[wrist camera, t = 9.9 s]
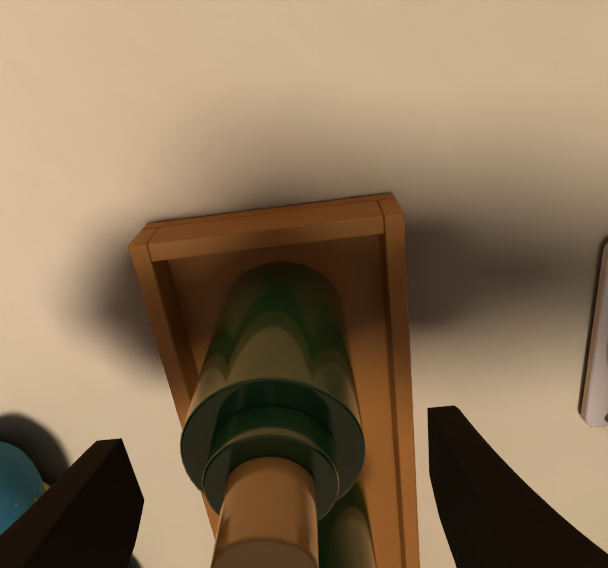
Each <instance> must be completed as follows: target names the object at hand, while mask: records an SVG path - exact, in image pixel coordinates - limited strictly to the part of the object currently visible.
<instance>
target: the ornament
mask: <svg viewBox="0 0 608 568" xmlns="http://www.w3.org/2000/svg"><path fill="white" fill-rule="evenodd" d="M50 487H51V485H49V484H47V483H45V482H43V481H42V479H41V477H40V475H39V472H38V470H37V468H36V467H35V465H34V464H33V462H32V461H31V459H30V458H29V457H28V456H27V455H26V454H25V453H24V452H23V451H22V450H20V449H19V448H17V447H15V446H13V445H11V444H9V443H5V442H0V535H1V534H2V533H3V532H4V531H5V530H6V529H8V528H9V527H10V526H11V525H12V524H13V523H14V522H15V521H16V520H17V519H18V518H19V517H20V516H22V515H23V514H24V513H25V512H26V511H27V510H28V509H29V508H30V507H31V506H32V505H33V504H34V503H35V502H36V501H37V500H38V499H39V498H40V497H41V496H42V495H43V494H44V493H45V492H46V491H47V490H48V489H49V488H50Z"/></svg>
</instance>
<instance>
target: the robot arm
mask: <svg viewBox="0 0 608 568" xmlns="http://www.w3.org/2000/svg"><path fill="white" fill-rule="evenodd" d="M606 414H608V242H607V244H606V245H605V247H604V250H603V256H602V263H601V270H600V278H599V285H598V292H597V300H596V307H595V314H594V322H593V329H592V336H591V344H590V351H589V358H588V366H587V373H586V380H585V388H584V395H583V402H582V409H581V417H582V419H583V420H584V421H585V423H586V424H587V425H588V426H590V427H604V426H608V415H606ZM428 442H429V474H430V479H431V483H432V488H433V492H434V497H435V501H436V505H437V509H438V513H439V518H440V520H441V523H442V526H443V529H444V532H445V535H446V538H447V541H448V544H449V547H450V550H451V552H452V555H453V558H454V561H455V564H456V567H457V568H608V554H607V553H606V552H605V551H603V550H602V549H601V548H599V547H598V546H597V545H596V544H594V543H593V542H592V541H591V540H589V539H588V538H587V537H586V536H584V535H583V534H582V533H581V532H580V531H578V530H577V529H576V528H575V527H573V526H572V525H571V524H570V523H569V522H568V521H566V520H565V519H564V518H563V517H562V516H561V515H559V514H558V513H557V512H556V511H555V510H554V509H553V508H552V507H551V506H549V505H548V504H547V503H546V502H545V501H544V500H543V499H542V498H541V497H540V496H539V495H538V494H537V493H535V492H534V491H533V490H532V489H531V488H530V487H529V486H528V485H527V484H526V483H525V482H524V481H523V480H522V479H521V478H520V477H519V476H518V475H517V474H516V473H515V472H514V471H513V470H512V469H511V468H510V467H509V466H508V465H507V464H506V462H505V461H504V460H503V459H502V458H501V457H500V456H499V455H498V454H497V453H496V452H495V451H494V450H493V449H492V448H491V446H490V445H489V444H488V443H487V442H486V441H485V440H484V439H483V437H482V436H481V435H480V434H479V433H478V432H477V430H476V429H475V428H474V427H473V426H472V424H471V423H470V422H469V421H468V420H467V418H466V417H465V416H464V415H463V413H462V412H461V411H460V410H459V409H458V408H457V407H456V406H444V407H434V408H428ZM143 504H144V498H143V495H142V492H141V490H140V487H139V484H138V482H137V479H136V476H135V473H134V471H133V468H132V465H131V463H130V460H129V457H128V454H127V452H126V449H125V446H124V444H123V441H122V438H120V439H110V440H100V441H96V442H95V443H94V444H93V445H92V446H91V447H90V448H89V449H88V450H87V451H86V452H85V453H84V454H83V455H82V456H81V457H80V458H79V459H78V460H77V461H76V462H75V463H74V464H73V465H72V466H71V467H70V468H69V469H68V470H67V471H66V472H65V473H64V474H63V475H62V476H61V477H60V478H59V479H58V480H57V481H56V482H55V483H54V484H53V485H52V486H51V487H50V488H49V489H48V490H47V491H46V492H45V493H44V494H43V495H42V496H41V497H40V498H39V499H38V500H37V501H36V502H35V503H34V504H33V505H32V506H31V507H30V508H29V509H28V510H27V511H26V512H25V513H24V514H23V515H22V516H20V517H19V518H18V519H17V520H16V521H15V522H14V523H13V524H12V525H11V526H10V527H9V528H8V529H6V530H5V531H4V532H3V533H2V534H1V535H0V568H127V567H128V564H129V561H130V558H131V555H132V552H133V549H134V546H135V542H136V538H137V533H138V529H139V525H140V520H141V515H142V510H143Z"/></svg>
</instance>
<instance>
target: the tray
mask: <svg viewBox="0 0 608 568" xmlns="http://www.w3.org/2000/svg"><path fill="white" fill-rule="evenodd" d="M128 249H129V252H130V256H131V259H132V262H133V266H134V269H135V272H136V276H137V279H138V282H139V286H140V289H141V292H142V296H143V299H144V302H145V306H146V309H147V313H148V316H149V319H150V323H151V326H152V329H153V333H154V336H155V339H156V343H157V346H158V349H159V353H160V356H161V359H162V363H163V366H164V370H165V373H166V376H167V380H168V383H169V386H170V390H171V393H172V396H173V400H174V403H175V406H176V410H177V413H178V416H179V420H180V423H181V426H182V430H183V427H184V424H185V420H186V417H187V414H188V411H189V407H190V404H191V401H192V398H193V394H194V391H195V388H196V385H197V381H198V378H199V375H200V371H201V368H202V365H203V362H204V358H205V355H206V352H207V349H208V345H209V342H210V339H211V336H212V332H213V329H214V326H215V322H216V319H217V316H218V313H219V309H220V306H221V303H222V300H223V297H224V295H225V293H226V291H227V290H228V288H229V287H230V285H231V284H232V283H233V282H234V281H235V280H236V279H237V278H238V277H239V276H241V275H242V274H243V273H245V272H247V271H248V270H250V269H252V268H254V267H257V266H260V265H263V264H268V263H273V262H290V263H296V264H300V265H303V266H306V267H309V268H311V269H313V270H315V271H317V272H318V273H320V274H322V275H323V276H324V277H325V278H327V279H328V280H329V281H330V282H331V283H332V284H333V285H334V287H335V288H336V290H337V291H338V293H339V295H340V296H341V298H342V301H343V304H344V308H345V314H346V320H347V327H348V333H349V340H350V346H351V352H352V359H353V365H354V371H355V378H356V384H357V391H358V397H359V403H360V410H361V416H362V422H363V429H364V435H365V442H366V456H365V462H364V465H363V472H364V479H365V486H366V493H367V500H368V507H369V514H370V521H371V528H372V535H373V542H374V549H375V557H376V564H377V568H420V560H419V538H418V515H417V493H416V470H415V448H414V425H413V403H412V380H411V358H410V336H409V313H408V291H407V268H406V246H405V223H404V213H403V211H402V209H401V207H400V206H399V204H398V202H397V201H396V199H395V197H394V196H393V194H392V193H389V194H381V195H373V196H365V197H357V198H349V199H341V200H333V201H325V202H317V203H309V204H301V205H293V206H285V207H277V208H269V209H261V210H253V211H245V212H237V213H229V214H221V215H213V216H205V217H197V218H189V219H181V220H173V221H165V222H157V223H149V224H146V226H145V227H144V228H143V230H141V232H140V233H139V234H138V235H137V236H136V238H135V239H134V240H133V241H132V242H131V243H130V245H129V246H128ZM201 494H202V497H203V500H204V504H205V507H206V510H207V514H208V517H209V520H210V524H211V527H212V530H213V534H214V537H215V539H216V533H217V527H218V522H219V516H218V515H217V514H216V513H215V512H214V511H213V509H212V508H211V507H210V505H209V503H208V502H207V500H206V497H205V495H204V494H203V493H202V492H201Z"/></svg>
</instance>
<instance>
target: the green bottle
mask: <svg viewBox="0 0 608 568" xmlns="http://www.w3.org/2000/svg"><path fill="white" fill-rule="evenodd" d="M180 453H181V458H182V462H183V465H184V468H185V470H186V472H187V474H188V476H189V478H190V479H191V481H192V482H193V483H194V485H195V486H196V487H197V488H198V489H199V490H200V491H201V492H202V493H203V494H204V495H205V497H206V500H207V502H208V503H209V505H210V507H211V508H212V509H213V511H214V512H215V513H216V514H217V515H218V516H219V522H218V527H217V533H216V539H215V545H214V550H213V556H212V562H211V568H319V551H318V521H319V520H321V519H322V518H323V517H324V516H325V515H326V514H327V513H328V512H329V511H330V509H331V508H332V507H333V505H334V503H335V502H336V501H337V500H339V499H340V498H341V497H342V496H344V495H345V494H346V493H347V492H348V491H349V490H350V489H351V487H352V486H353V485H354V483H355V482H356V481H357V479H358V477H359V475H360V473H361V471H362V468H363V465H364V462H365V456H366V442H365V435H364V429H363V422H362V416H361V410H360V403H359V397H358V391H357V384H356V378H355V371H354V365H353V359H352V352H351V346H350V340H349V333H348V327H347V320H346V314H345V308H344V304H343V301H342V298H341V296H340V295H339V293H338V291H337V290H336V288H335V287H334V285H333V284H332V283H331V282H330V281H329V280H328V279H327V278H325V277H324V276H323V275H322V274H320V273H318V272H317V271H315V270H313V269H311V268H309V267H306V266H303V265H300V264H296V263H290V262H273V263H268V264H263V265H260V266H257V267H254V268H252V269H250V270H248V271H247V272H245V273H243V274H242V275H241V276H239V277H238V278H237V279H236V280H235V281H234V282H233V283H232V284H231V285H230V287H229V288H228V290H227V291H226V293H225V295H224V297H223V300H222V303H221V306H220V309H219V313H218V316H217V319H216V322H215V326H214V329H213V332H212V336H211V339H210V342H209V345H208V349H207V352H206V355H205V358H204V362H203V365H202V368H201V371H200V375H199V378H198V381H197V385H196V388H195V391H194V394H193V398H192V401H191V404H190V407H189V411H188V414H187V417H186V420H185V424H184V427H183V430H182V433H181V440H180Z"/></svg>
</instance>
